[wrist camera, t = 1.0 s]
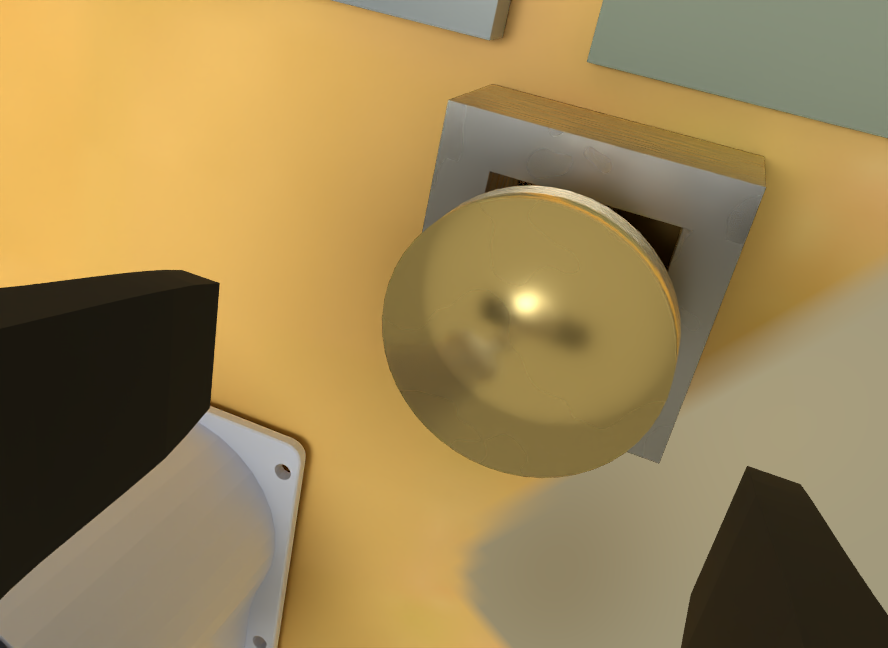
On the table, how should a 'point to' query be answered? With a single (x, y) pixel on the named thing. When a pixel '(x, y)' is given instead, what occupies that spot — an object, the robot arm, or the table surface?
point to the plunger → (533, 331)
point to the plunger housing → (613, 195)
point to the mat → (759, 53)
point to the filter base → (447, 14)
